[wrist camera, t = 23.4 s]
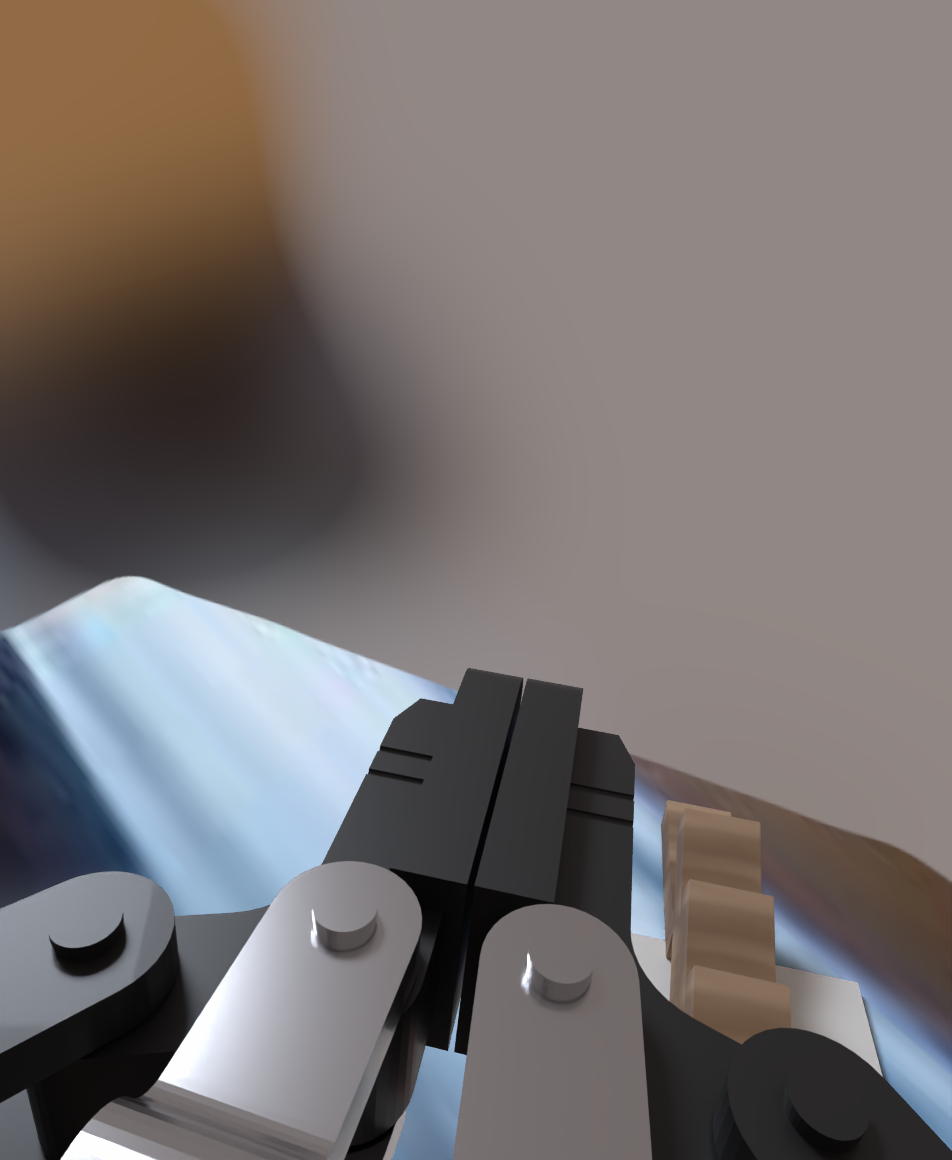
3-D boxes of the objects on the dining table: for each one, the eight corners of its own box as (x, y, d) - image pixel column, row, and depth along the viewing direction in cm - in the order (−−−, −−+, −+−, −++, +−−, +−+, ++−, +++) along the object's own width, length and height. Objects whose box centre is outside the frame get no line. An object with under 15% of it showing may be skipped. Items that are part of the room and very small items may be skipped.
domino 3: (781, 1170, 32) (773, 896, 39) (679, 1144, 33) (689, 879, 40) (767, 1175, 34) (762, 910, 41) (669, 1150, 34) (681, 894, 41)
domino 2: (765, 1047, 37) (760, 822, 44) (675, 1028, 37) (685, 807, 44) (753, 1057, 38) (750, 837, 45) (667, 1038, 39) (677, 823, 46)
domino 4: (802, 1326, 28) (789, 986, 35) (683, 1294, 28) (694, 965, 35) (784, 1325, 29) (776, 998, 36) (672, 1294, 30) (685, 978, 37)
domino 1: (752, 946, 42) (730, 812, 52) (673, 929, 42) (667, 799, 52) (743, 974, 42) (723, 837, 52) (665, 957, 43) (661, 824, 53)
